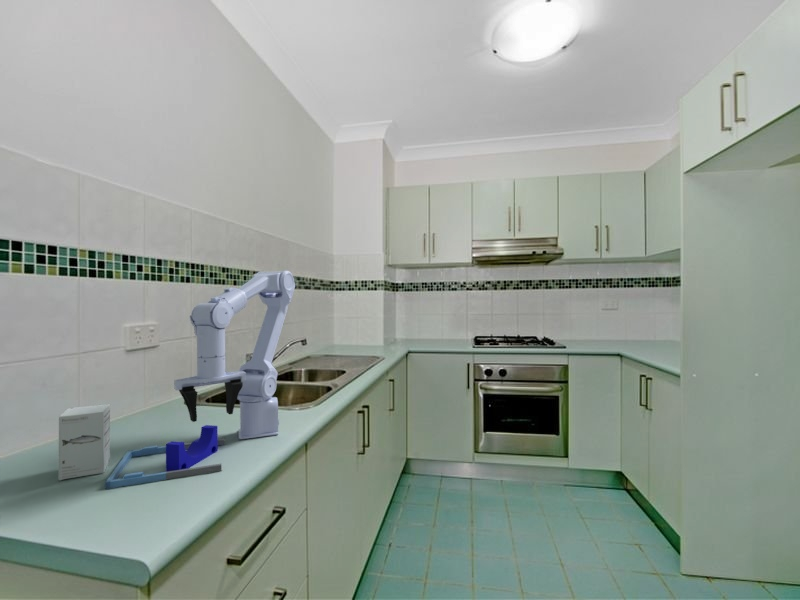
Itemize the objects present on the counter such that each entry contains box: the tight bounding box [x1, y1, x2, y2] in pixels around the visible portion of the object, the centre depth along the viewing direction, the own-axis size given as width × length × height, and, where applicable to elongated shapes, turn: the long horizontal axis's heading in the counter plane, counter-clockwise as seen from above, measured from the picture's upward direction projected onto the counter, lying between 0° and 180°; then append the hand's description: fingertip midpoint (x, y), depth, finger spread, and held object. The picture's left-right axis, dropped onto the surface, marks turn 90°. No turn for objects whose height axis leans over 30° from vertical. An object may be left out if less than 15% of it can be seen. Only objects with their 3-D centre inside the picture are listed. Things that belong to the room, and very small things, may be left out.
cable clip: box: [165, 424, 219, 472], centre depth 86 cm, size 12×4×6 cm, turn 169°
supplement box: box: [58, 403, 111, 481], centre depth 81 cm, size 7×7×13 cm
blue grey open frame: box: [104, 438, 225, 490], centre depth 84 cm, size 20×17×2 cm
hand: (212, 416), depth 89 cm, fingers open, 7 cm apart
